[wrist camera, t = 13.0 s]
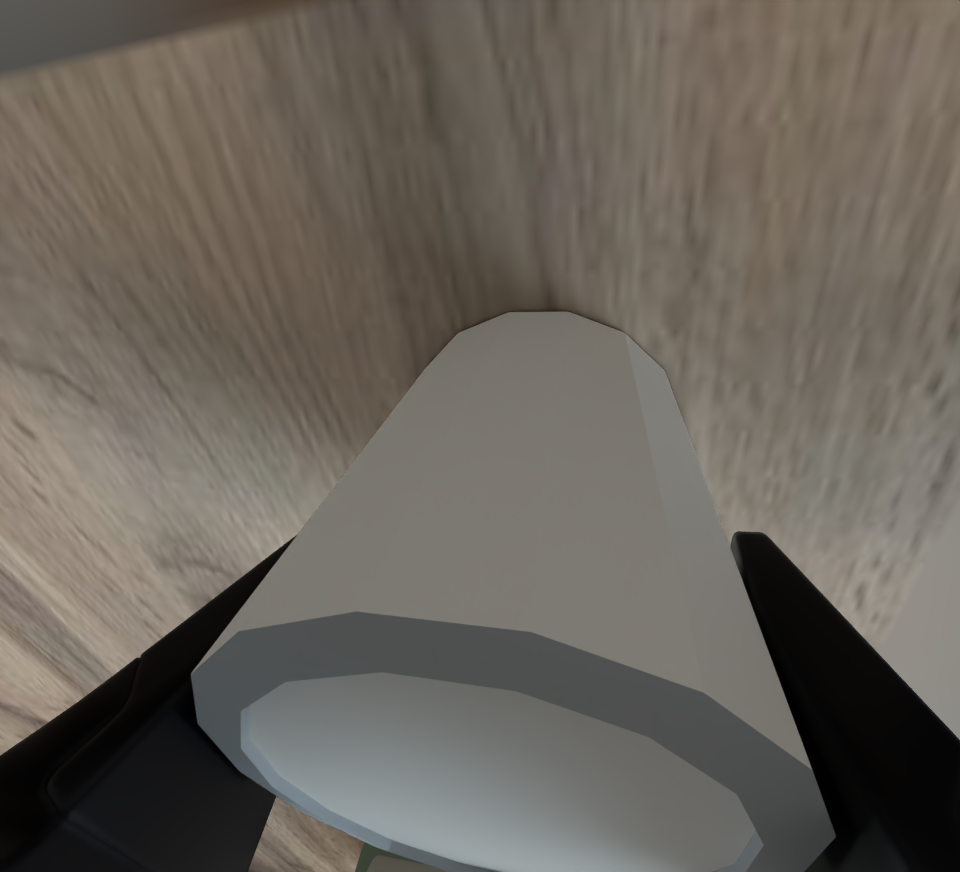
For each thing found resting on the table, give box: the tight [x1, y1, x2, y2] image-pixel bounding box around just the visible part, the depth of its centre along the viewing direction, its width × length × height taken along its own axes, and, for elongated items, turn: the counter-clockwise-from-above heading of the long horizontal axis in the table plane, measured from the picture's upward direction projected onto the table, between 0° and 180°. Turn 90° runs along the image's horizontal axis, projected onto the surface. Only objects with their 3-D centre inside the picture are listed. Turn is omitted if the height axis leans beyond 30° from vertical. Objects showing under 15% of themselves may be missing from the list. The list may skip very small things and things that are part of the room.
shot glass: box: [191, 312, 836, 872], centre depth 8 cm, size 7×7×7 cm
